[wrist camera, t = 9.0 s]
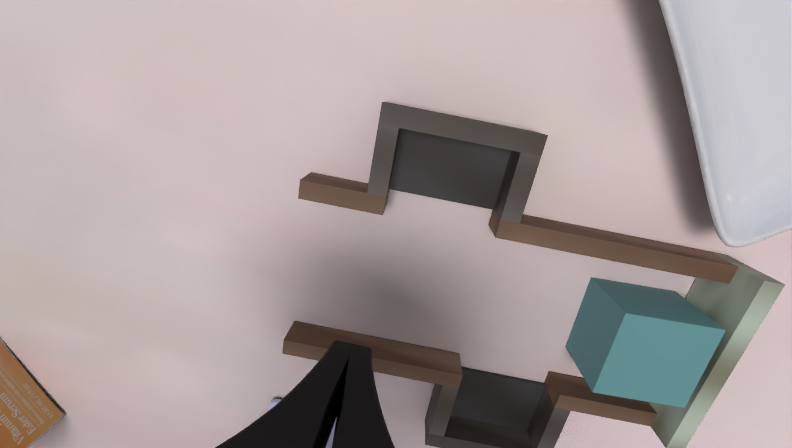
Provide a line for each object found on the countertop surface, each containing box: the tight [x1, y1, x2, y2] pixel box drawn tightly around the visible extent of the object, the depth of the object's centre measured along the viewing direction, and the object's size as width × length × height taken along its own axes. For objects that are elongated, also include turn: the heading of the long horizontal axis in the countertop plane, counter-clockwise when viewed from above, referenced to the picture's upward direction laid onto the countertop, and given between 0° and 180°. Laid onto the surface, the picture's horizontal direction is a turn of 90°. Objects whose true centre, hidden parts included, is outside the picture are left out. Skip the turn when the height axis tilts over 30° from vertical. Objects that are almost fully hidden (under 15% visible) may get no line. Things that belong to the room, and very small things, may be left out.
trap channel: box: [282, 102, 785, 448], centre depth 21 cm, size 20×24×4 cm
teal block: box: [566, 277, 726, 408], centre depth 21 cm, size 5×5×4 cm
